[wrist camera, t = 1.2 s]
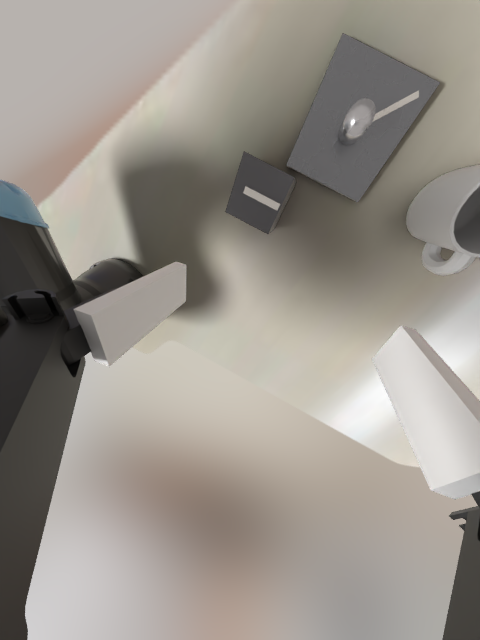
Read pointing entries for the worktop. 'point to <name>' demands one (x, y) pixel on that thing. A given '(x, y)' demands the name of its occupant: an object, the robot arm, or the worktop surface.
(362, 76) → the base plate
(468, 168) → the cup
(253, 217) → the dark grey cube
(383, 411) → the worktop surface
